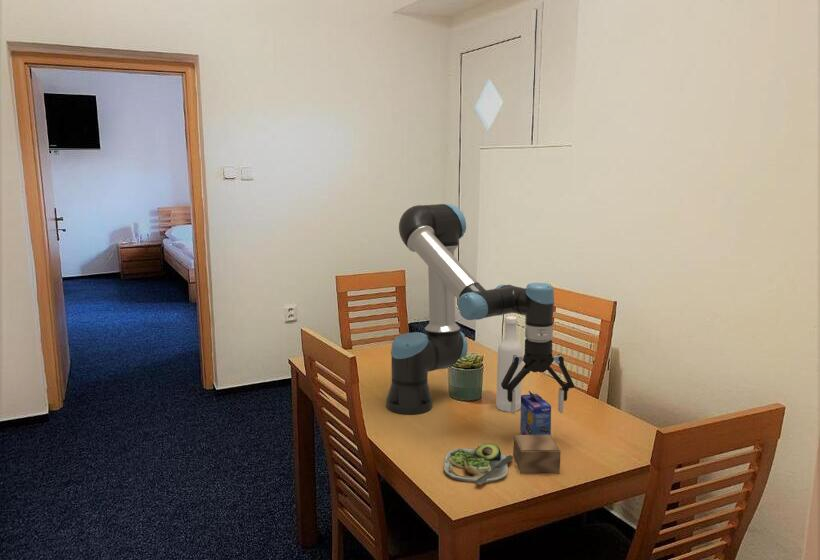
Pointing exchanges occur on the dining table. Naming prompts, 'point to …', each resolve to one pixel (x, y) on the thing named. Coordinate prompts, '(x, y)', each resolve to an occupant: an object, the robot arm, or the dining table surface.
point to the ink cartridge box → (535, 415)
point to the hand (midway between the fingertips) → (536, 411)
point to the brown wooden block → (536, 454)
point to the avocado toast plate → (478, 463)
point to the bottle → (508, 364)
